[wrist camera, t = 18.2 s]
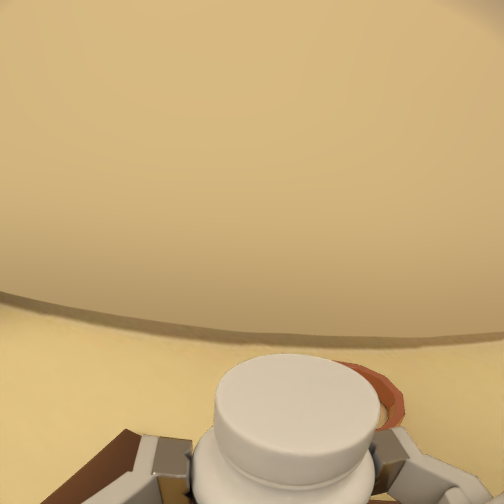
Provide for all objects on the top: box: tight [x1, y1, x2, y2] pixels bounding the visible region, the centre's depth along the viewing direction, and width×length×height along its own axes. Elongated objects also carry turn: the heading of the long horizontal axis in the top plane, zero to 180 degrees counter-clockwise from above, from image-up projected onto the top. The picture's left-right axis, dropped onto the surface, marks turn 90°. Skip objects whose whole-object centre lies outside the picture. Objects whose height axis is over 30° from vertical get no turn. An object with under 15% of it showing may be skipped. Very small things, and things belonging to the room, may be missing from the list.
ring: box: [332, 360, 405, 431], centre depth 23 cm, size 11×11×2 cm
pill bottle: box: [190, 353, 380, 504], centre depth 8 cm, size 5×5×10 cm
